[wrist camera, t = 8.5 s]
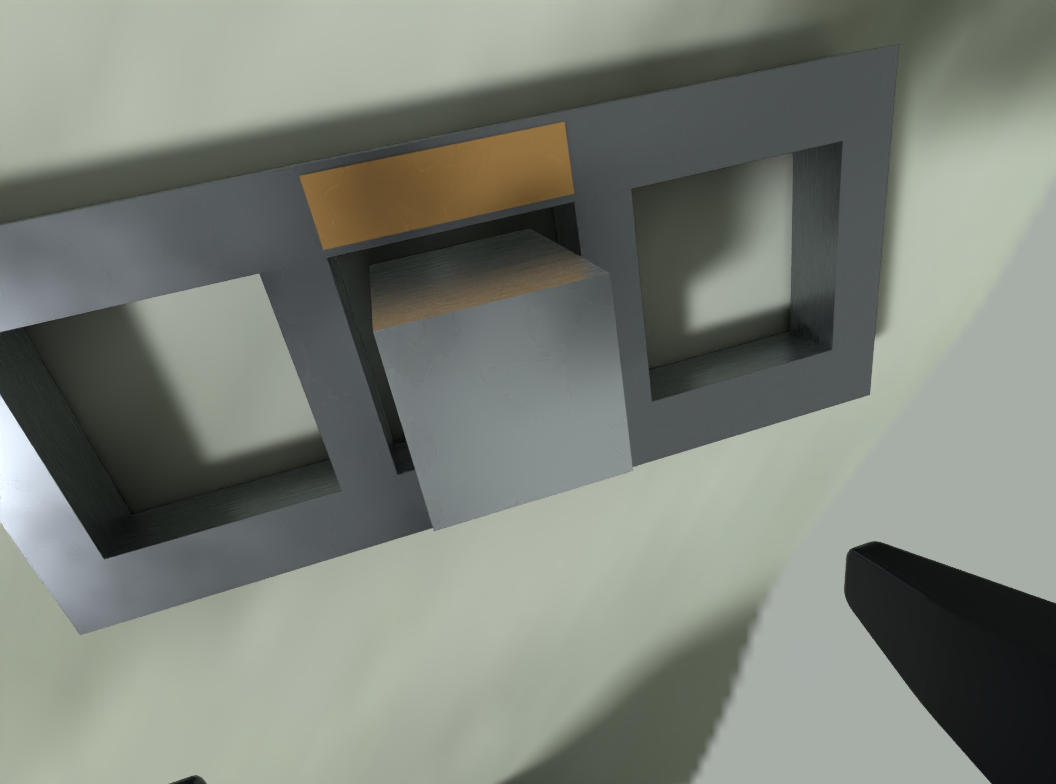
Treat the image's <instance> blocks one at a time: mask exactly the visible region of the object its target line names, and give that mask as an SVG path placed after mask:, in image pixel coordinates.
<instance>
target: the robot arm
mask: <svg viewBox="0 0 1056 784" xmlns="http://www.w3.org/2000/svg"><path fill="white" fill-rule="evenodd" d="M844 593H845V597H846V600H847V602H848V604H849V606H850V608H851V609H852V611H853V612H854V613H855V615H856V616H857V617H858V619H859V620H860V622H861V623H862V624H863V626H864V627H865V628H866V630H867V631H868V632H869V634H870V635H871V636H872V638H873V639H874V640H875V642H876V643H877V645H878V646H879V647H880V649H881V650H882V651H883V653H884V654H885V655H886V657H887V658H888V660H889V661H890V662H891V664H892V665H893V666H894V668H895V669H896V670H897V672H898V673H899V674H900V676H901V677H902V679H903V680H904V681H905V683H906V684H907V685H908V687H909V688H910V689H911V691H912V692H913V693H914V695H915V696H916V697H917V698H918V700H919V701H920V702H921V703H922V705H923V706H924V707H925V708H926V709H927V711H928V712H929V713H930V714H931V715H932V717H933V718H934V719H935V720H936V721H937V722H938V724H939V725H940V726H941V727H942V728H943V729H944V730H945V731H946V732H947V734H948V735H949V736H950V737H951V738H952V739H953V741H955V743H956V744H957V745H958V746H959V747H960V748H961V750H962V751H963V752H964V753H965V754H966V755H967V756H968V757H969V759H970V760H971V761H972V762H973V763H974V764H975V765H976V767H977V768H978V769H979V770H980V771H981V772H982V773H983V774H984V776H985V777H986V778H987V779H988V780H989V781H990V783H991V784H1056V603H1053V602H1050V601H1047V600H1045V599H1042V598H1039V597H1036V596H1033V595H1030V594H1027V593H1024V592H1022V591H1019V590H1016V589H1013V588H1010V587H1007V586H1005V585H1002V584H999V583H996V582H993V581H990V580H987V579H985V578H982V577H979V576H976V575H973V574H970V573H967V572H965V571H962V570H959V569H956V568H953V567H950V566H948V565H945V564H942V563H939V562H936V561H933V560H930V559H927V558H924V557H922V556H919V555H916V554H913V553H910V552H908V551H904V550H902V549H899V548H896V547H893V546H890V545H888V544H885V543H881V542H876V541H873V542H869V543H866V544H863V545H860V546H857V547H854V548H852V549H850V550H849V552H848V553H847V557H846V571H845V584H844ZM170 784H206V782H205V781H204V779H203V778H202V777H199V776H197V775H195V776H190V777H187V778H184V779H181V780H179V781H176V782H173V783H170Z"/></svg>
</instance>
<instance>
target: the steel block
mask: <svg viewBox="0 0 1056 784" xmlns="http://www.w3.org/2000/svg"><path fill="white" fill-rule="evenodd" d="M369 269H370V287H371V305H372V323H373V333H374V336H375V340H376V343H377V346H378V350H379V353H380V356H381V359H382V363H383V366H384V369H385V372H386V376H387V379H388V382H389V385H390V389H391V392H392V395H393V399H394V402H395V405H396V408H397V412H398V415H399V418H400V421H401V425H402V428H403V431H404V434H405V438H406V441H407V444H408V448H409V451H410V454H411V457H412V461H413V464H414V467H415V470H416V474H417V477H418V480H419V483H420V487H421V490H422V493H423V496H424V500H425V503H426V506H427V510H428V513H429V516H430V519H431V523H432V526H433V529H434V531H436V530H439V529H443V528H446V527H449V526H452V525H456V524H459V523H462V522H466V521H469V520H472V519H476V518H479V517H482V516H485V515H489V514H492V513H495V512H499V511H502V510H505V509H509V508H512V507H515V506H518V505H522V504H525V503H528V502H532V501H535V500H538V499H542V498H545V497H548V496H551V495H555V494H558V493H561V492H565V491H568V490H571V489H575V488H578V487H581V486H584V485H588V484H591V483H594V482H598V481H601V480H604V479H608V478H611V477H614V476H617V475H621V474H624V473H627V472H631V471H633V467H632V458H631V450H630V441H629V433H628V424H627V415H626V407H625V398H624V390H623V381H622V372H621V364H620V355H619V347H618V338H617V329H616V321H615V312H614V304H613V295H612V286H611V278H610V273H609V272H607V271H605V270H603V269H602V268H600V267H598V266H596V265H595V264H593V263H591V262H589V261H587V260H586V259H584V258H582V257H580V256H578V255H577V254H575V253H573V252H571V251H569V250H568V249H566V248H564V247H562V246H560V245H559V244H557V243H555V242H553V241H551V240H550V239H548V238H546V237H544V236H543V235H541V234H539V233H537V232H535V231H534V230H532V229H526V230H522V231H517V232H513V233H508V234H504V235H500V236H495V237H491V238H487V239H482V240H478V241H473V242H469V243H465V244H460V245H456V246H452V247H447V248H443V249H439V250H434V251H430V252H425V253H421V254H417V255H412V256H408V257H404V258H399V259H395V260H390V261H386V262H382V263H377V264H373V265H369Z"/></svg>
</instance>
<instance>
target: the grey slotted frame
mask: <svg viewBox="0 0 1056 784" xmlns="http://www.w3.org/2000/svg"><path fill="white" fill-rule="evenodd" d="M898 48H899V44H898V45H892V46H886V47H880V48H875V49H869V50H863V51H857V52H851V53H845V54H840V55H835V56H830V57H825V58H820V59H815V60H810V61H805V62H800V63H795V64H790V65H785V66H780V67H775V68H770V69H765V70H760V71H755V72H750V73H745V74H740V75H735V76H730V77H725V78H720V79H715V80H710V81H705V82H700V83H695V84H690V85H686V86H681V87H676V88H671V89H666V90H661V91H656V92H651V93H646V94H641V95H636V96H631V97H626V98H621V99H616V100H611V101H606V102H601V103H596V104H591V105H586V106H581V107H576V108H571V109H566V110H561V111H556V112H551V113H546V114H541V115H536V116H531V117H526V118H522V119H517V120H512V121H507V122H502V123H497V124H492V125H487V126H482V127H477V128H472V129H467V130H462V131H457V132H452V133H447V134H442V135H437V136H432V137H427V138H422V139H417V140H412V141H407V142H402V143H397V144H392V145H387V146H382V147H377V148H372V149H367V150H363V151H358V152H353V153H348V154H343V155H338V156H333V157H328V158H323V159H318V160H313V161H308V162H303V163H298V164H293V165H288V166H283V167H278V168H273V169H268V170H263V171H258V172H253V173H248V174H243V175H238V176H233V177H228V178H223V179H218V180H213V181H208V182H204V183H199V184H194V185H189V186H184V187H179V188H174V189H169V190H164V191H159V192H154V193H149V194H144V195H139V196H134V197H129V198H124V199H119V200H114V201H109V202H104V203H99V204H94V205H89V206H84V207H79V208H74V209H69V210H64V211H59V212H54V213H49V214H45V215H40V216H35V217H30V218H25V219H20V220H15V221H10V222H5V223H0V522H1V524H2V525H3V526H4V528H5V529H6V531H7V532H8V533H9V535H10V536H11V538H12V539H13V541H14V542H15V543H16V545H17V546H18V548H19V549H20V551H21V552H22V553H23V555H24V556H25V558H26V559H27V560H28V562H29V563H30V565H31V566H32V568H33V569H34V570H35V572H36V573H37V575H38V576H39V578H40V579H41V580H42V582H43V583H44V585H45V586H46V587H47V589H48V590H49V592H50V593H51V595H52V596H53V597H54V599H55V600H56V602H57V603H58V605H59V606H60V607H61V609H62V610H63V612H64V613H65V614H66V616H67V617H68V619H69V620H70V622H71V623H72V624H73V626H74V627H75V629H76V630H77V632H78V633H79V634H80V635H82V634H86V633H89V632H92V631H95V630H99V629H102V628H105V627H109V626H112V625H115V624H118V623H122V622H125V621H128V620H132V619H135V618H138V617H141V616H145V615H148V614H151V613H155V612H158V611H161V610H164V609H168V608H171V607H174V606H178V605H181V604H184V603H187V602H191V601H194V600H197V599H201V598H204V597H207V596H210V595H214V594H217V593H220V592H224V591H227V590H230V589H233V588H237V587H240V586H243V585H247V584H250V583H253V582H256V581H260V580H263V579H266V578H270V577H273V576H276V575H279V574H283V573H286V572H289V571H293V570H296V569H299V568H302V567H306V566H309V565H312V564H316V563H319V562H322V561H325V560H329V559H332V558H335V557H339V556H342V555H345V554H348V553H352V552H355V551H358V550H362V549H365V548H368V547H371V546H375V545H378V544H381V543H385V542H388V541H391V540H394V539H398V538H401V537H404V536H408V535H411V534H414V533H417V532H421V531H424V530H427V529H431V528H433V526H432V523H431V519H430V516H429V513H428V510H427V506H426V503H425V500H424V496H423V493H422V490H421V487H420V483H419V480H418V477H417V474H416V470H415V467H414V464H413V461H412V457H411V454H410V451H409V448H408V444H407V441H406V438H404V439H401V440H397V441H394V440H393V437H392V434H391V431H390V428H389V425H388V421H387V418H386V415H385V412H384V409H383V406H382V403H381V400H380V396H379V393H378V390H377V387H376V384H375V381H374V378H373V375H372V371H371V368H370V365H369V362H368V359H367V356H366V353H365V350H364V346H363V343H362V340H361V337H360V334H359V331H358V328H357V325H356V321H355V318H354V315H353V312H352V309H351V306H350V303H349V300H348V296H347V293H346V290H345V287H344V284H343V281H342V278H341V275H340V271H339V268H338V265H337V262H336V259H335V256H337V255H342V254H346V253H351V252H355V251H359V250H364V249H368V248H373V247H377V246H381V245H386V244H390V243H395V242H399V241H403V240H408V239H412V238H417V237H421V236H426V235H430V234H434V233H439V232H443V231H448V230H452V229H456V228H461V227H465V226H470V225H474V224H478V223H483V222H487V221H492V220H496V219H500V218H505V217H509V216H514V215H518V214H522V213H527V212H531V211H536V210H540V209H544V208H549V207H553V211H554V218H555V224H556V231H557V237H558V244H559V245H560V246H562V247H564V248H566V249H568V250H569V251H571V252H573V253H575V254H577V255H578V256H580V257H582V258H584V259H586V260H587V261H589V262H591V263H593V264H595V265H596V266H598V267H600V268H602V269H603V270H605V271H607V272H609V273H610V278H611V286H612V295H613V304H614V312H615V321H616V329H617V338H618V347H619V355H620V364H621V372H622V381H623V390H624V398H625V407H626V415H627V424H628V433H629V441H630V450H631V458H632V467H634V466H637V465H641V464H644V463H647V462H651V461H654V460H657V459H660V458H664V457H667V456H670V455H674V454H677V453H680V452H683V451H687V450H690V449H693V448H697V447H700V446H703V445H706V444H710V443H713V442H716V441H720V440H723V439H726V438H729V437H733V436H736V435H739V434H743V433H746V432H749V431H752V430H756V429H759V428H762V427H766V426H769V425H772V424H775V423H779V422H782V421H785V420H789V419H792V418H795V417H798V416H802V415H805V414H808V413H812V412H815V411H818V410H821V409H825V408H828V407H831V406H835V405H838V404H841V403H844V402H848V401H851V400H854V399H858V398H861V397H864V396H867V395H870V387H871V375H872V363H873V351H874V339H875V327H876V314H877V302H878V290H879V278H880V266H881V254H882V242H883V230H884V218H885V205H886V193H887V181H888V169H889V157H890V145H891V133H892V121H893V109H894V96H895V84H896V72H897V60H898ZM791 152H793V204H792V265H791V325H790V331H788V332H785V333H781V334H777V335H774V336H770V337H767V338H763V339H759V340H756V341H752V342H749V343H745V344H741V345H738V346H734V347H731V348H727V349H724V350H720V351H716V352H713V353H709V354H706V355H702V356H698V357H695V358H691V359H688V360H684V361H680V362H677V363H673V364H670V365H666V366H663V367H659V368H655V369H652V370H649V367H648V357H647V347H646V336H645V326H644V316H643V305H642V295H641V285H640V274H639V264H638V254H637V243H636V233H635V223H634V212H633V202H632V192H631V189H633V188H637V187H641V186H646V185H650V184H655V183H659V182H663V181H668V180H672V179H677V178H681V177H685V176H690V175H694V174H699V173H703V172H708V171H712V170H716V169H721V168H725V167H730V166H734V165H738V164H743V163H747V162H752V161H756V160H760V159H765V158H769V157H774V156H778V155H782V154H787V153H791ZM258 273H259V274H260V276H261V279H262V282H263V284H264V287H265V289H266V292H267V295H268V297H269V300H270V303H271V305H272V308H273V310H274V313H275V316H276V318H277V321H278V324H279V326H280V329H281V331H282V334H283V337H284V339H285V342H286V345H287V347H288V350H289V353H290V355H291V358H292V360H293V363H294V366H295V368H296V371H297V374H298V376H299V379H300V381H301V384H302V387H303V389H304V392H305V395H306V397H307V400H308V403H309V405H310V408H311V410H312V413H313V416H314V418H315V421H316V424H317V426H318V429H319V431H320V434H321V437H322V439H323V442H324V445H325V447H326V450H327V453H328V455H329V458H330V459H329V460H325V461H322V462H318V463H315V464H311V465H307V466H304V467H300V468H297V469H293V470H290V471H286V472H282V473H279V474H275V475H272V476H268V477H264V478H261V479H257V480H254V481H250V482H246V483H243V484H239V485H236V486H232V487H229V488H225V489H221V490H218V491H214V492H211V493H207V494H203V495H200V496H196V497H193V498H189V499H186V500H182V501H178V502H175V503H171V504H168V505H164V506H160V507H157V508H153V509H150V510H146V511H142V512H139V513H135V514H132V515H131V513H130V511H129V510H128V508H127V506H126V505H125V503H124V501H123V499H122V498H121V496H120V494H119V492H118V491H117V489H116V487H115V486H114V484H113V482H112V480H111V479H110V477H109V475H108V473H107V472H106V470H105V468H104V467H103V465H102V463H101V461H100V460H99V458H98V456H97V455H96V453H95V451H94V449H93V448H92V446H91V444H90V442H89V441H88V439H87V437H86V436H85V434H84V432H83V430H82V429H81V427H80V425H79V423H78V422H77V420H76V418H75V417H74V415H73V413H72V411H71V410H70V408H69V406H68V405H67V403H66V401H65V399H64V398H63V396H62V394H61V392H60V391H59V389H58V387H57V386H56V384H55V382H54V380H53V379H52V377H51V375H50V373H49V372H48V370H47V368H46V367H45V365H44V363H43V361H42V360H41V358H40V356H39V355H38V353H37V351H36V349H35V348H34V346H33V344H32V342H31V341H30V339H29V337H28V336H27V334H26V332H25V330H24V329H23V327H25V326H29V325H33V324H38V323H42V322H47V321H51V320H55V319H60V318H64V317H69V316H73V315H77V314H82V313H86V312H91V311H95V310H99V309H104V308H108V307H113V306H117V305H121V304H126V303H130V302H135V301H139V300H144V299H148V298H152V297H157V296H161V295H166V294H170V293H174V292H179V291H183V290H188V289H192V288H196V287H201V286H205V285H210V284H214V283H218V282H223V281H227V280H232V279H236V278H240V277H245V276H249V275H254V274H258Z"/></svg>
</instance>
